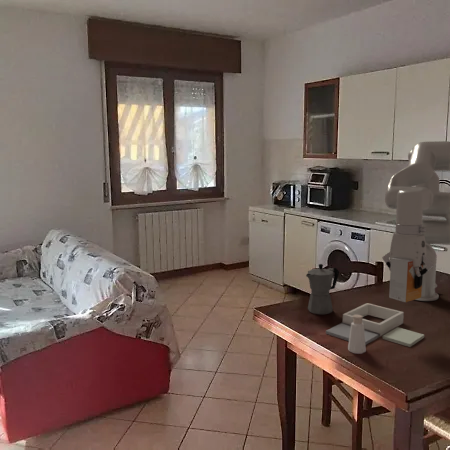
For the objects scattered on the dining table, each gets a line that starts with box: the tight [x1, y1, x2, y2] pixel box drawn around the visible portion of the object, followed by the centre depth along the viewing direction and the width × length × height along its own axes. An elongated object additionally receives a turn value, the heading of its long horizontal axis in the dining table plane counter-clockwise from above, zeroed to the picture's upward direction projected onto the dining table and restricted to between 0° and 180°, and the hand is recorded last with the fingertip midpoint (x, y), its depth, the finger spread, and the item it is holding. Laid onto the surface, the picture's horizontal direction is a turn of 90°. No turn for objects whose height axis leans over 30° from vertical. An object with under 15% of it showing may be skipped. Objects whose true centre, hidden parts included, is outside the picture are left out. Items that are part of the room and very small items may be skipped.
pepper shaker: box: [347, 315, 367, 355], centre depth 143 cm, size 5×5×11 cm
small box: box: [388, 258, 423, 303], centre depth 149 cm, size 8×6×13 cm
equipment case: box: [325, 302, 405, 346], centre depth 160 cm, size 26×14×4 cm, turn 133°
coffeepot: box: [305, 263, 340, 315], centre depth 178 cm, size 15×9×18 cm, turn 119°
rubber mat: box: [382, 326, 425, 348], centre depth 152 cm, size 10×9×1 cm
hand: (405, 284), depth 149 cm, fingers closed on small box, 6 cm apart
